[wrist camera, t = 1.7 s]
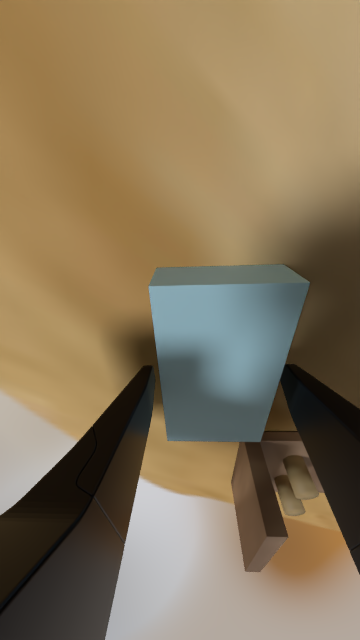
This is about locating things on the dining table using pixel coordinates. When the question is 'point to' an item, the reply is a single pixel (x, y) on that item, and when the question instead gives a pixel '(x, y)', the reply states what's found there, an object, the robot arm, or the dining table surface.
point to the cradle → (270, 492)
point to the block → (223, 346)
